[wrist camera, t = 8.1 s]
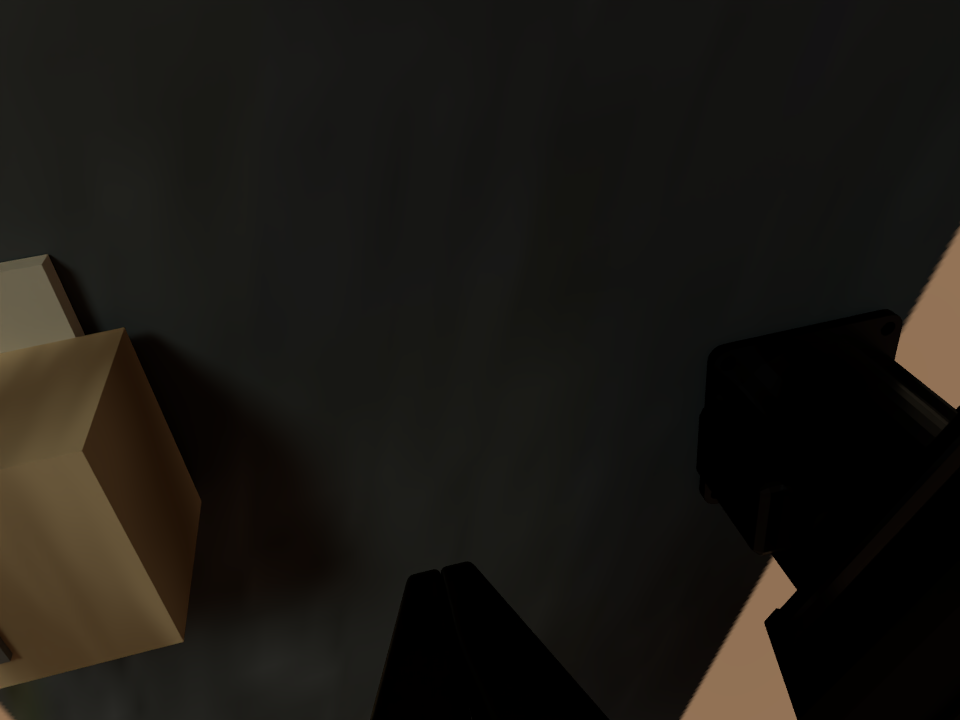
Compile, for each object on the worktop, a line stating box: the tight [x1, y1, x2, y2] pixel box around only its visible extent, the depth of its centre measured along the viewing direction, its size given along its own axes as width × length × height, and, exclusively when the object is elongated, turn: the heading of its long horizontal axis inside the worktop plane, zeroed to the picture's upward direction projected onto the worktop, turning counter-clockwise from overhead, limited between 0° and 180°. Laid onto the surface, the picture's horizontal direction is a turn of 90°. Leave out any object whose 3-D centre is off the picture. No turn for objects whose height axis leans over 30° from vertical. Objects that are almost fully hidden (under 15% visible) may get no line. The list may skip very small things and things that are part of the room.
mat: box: [0, 254, 85, 353], centre depth 21 cm, size 5×10×1 cm, turn 7°
